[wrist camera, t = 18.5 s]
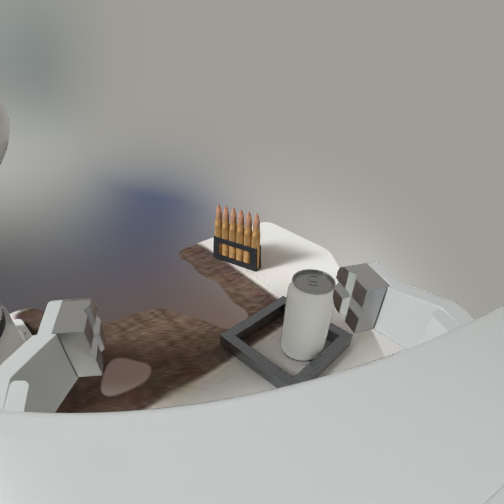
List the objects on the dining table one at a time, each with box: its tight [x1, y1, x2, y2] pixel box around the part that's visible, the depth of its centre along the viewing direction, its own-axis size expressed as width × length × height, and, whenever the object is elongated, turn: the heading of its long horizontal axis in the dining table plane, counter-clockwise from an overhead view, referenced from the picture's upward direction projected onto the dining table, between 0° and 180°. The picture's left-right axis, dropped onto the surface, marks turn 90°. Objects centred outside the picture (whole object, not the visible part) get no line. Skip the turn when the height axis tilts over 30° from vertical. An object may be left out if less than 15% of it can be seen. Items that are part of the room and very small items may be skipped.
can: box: [281, 269, 335, 361], centre depth 43 cm, size 6×6×12 cm
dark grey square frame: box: [220, 296, 353, 388], centre depth 45 cm, size 14×14×2 cm
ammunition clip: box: [213, 205, 261, 272], centre depth 64 cm, size 11×2×12 cm, turn 60°
